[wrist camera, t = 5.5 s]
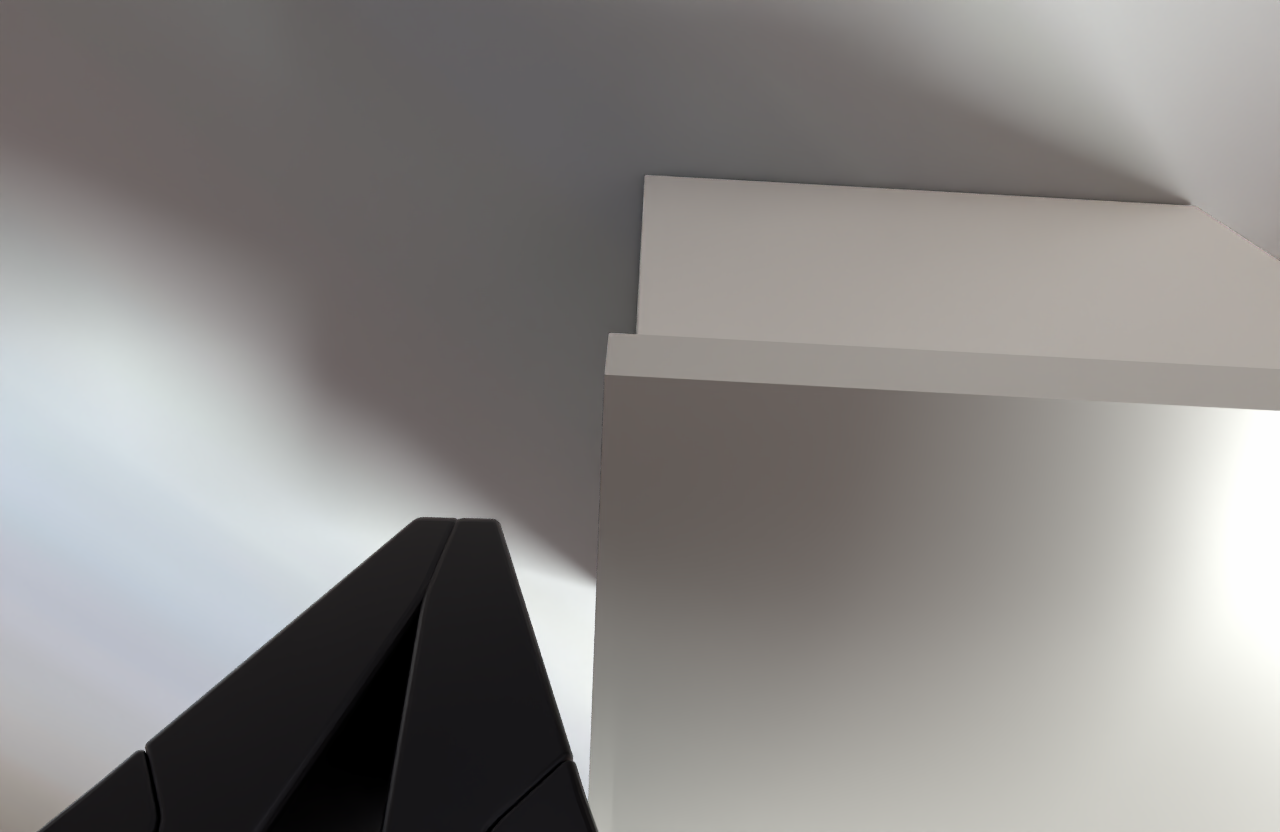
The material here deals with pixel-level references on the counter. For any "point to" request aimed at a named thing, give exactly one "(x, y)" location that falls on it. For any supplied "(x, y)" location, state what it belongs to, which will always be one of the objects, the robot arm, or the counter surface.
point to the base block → (938, 518)
